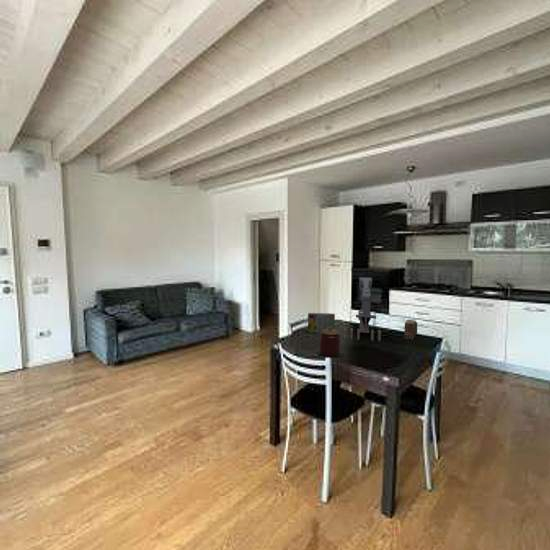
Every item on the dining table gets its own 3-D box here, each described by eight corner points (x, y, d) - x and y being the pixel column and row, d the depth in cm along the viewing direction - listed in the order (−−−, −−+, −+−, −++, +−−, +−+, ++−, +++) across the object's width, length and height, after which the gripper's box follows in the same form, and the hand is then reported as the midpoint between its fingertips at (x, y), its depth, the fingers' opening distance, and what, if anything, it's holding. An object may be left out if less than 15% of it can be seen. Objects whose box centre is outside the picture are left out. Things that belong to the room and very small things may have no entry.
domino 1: (343, 336, 255) (343, 327, 255) (345, 337, 255) (346, 328, 254) (343, 338, 251) (343, 329, 250) (345, 338, 250) (346, 329, 250)
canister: (324, 348, 226) (324, 323, 224) (342, 352, 219) (343, 325, 218) (316, 354, 215) (317, 327, 213) (335, 357, 208) (336, 330, 206)
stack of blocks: (408, 332, 271) (409, 317, 270) (417, 333, 268) (417, 318, 266) (404, 338, 253) (404, 322, 251) (412, 339, 249) (413, 323, 248)
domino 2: (350, 337, 254) (350, 328, 254) (352, 337, 254) (352, 328, 253) (350, 339, 250) (350, 330, 249) (352, 339, 249) (352, 330, 249)
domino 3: (357, 337, 253) (357, 328, 253) (359, 338, 253) (359, 328, 252) (357, 339, 248) (357, 330, 248) (359, 339, 248) (359, 330, 247)
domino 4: (370, 338, 251) (371, 329, 250) (373, 338, 251) (373, 329, 250) (371, 340, 246) (371, 331, 246) (373, 340, 246) (373, 331, 245)
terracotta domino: (364, 330, 252) (364, 321, 251) (366, 330, 251) (366, 321, 251) (364, 332, 247) (364, 322, 246) (366, 332, 246) (367, 322, 246)
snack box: (334, 331, 271) (334, 313, 270) (334, 333, 266) (335, 314, 264) (307, 330, 273) (308, 312, 272) (307, 332, 268) (308, 313, 266)
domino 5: (377, 339, 250) (378, 330, 249) (379, 339, 250) (380, 330, 249) (378, 341, 245) (378, 331, 245) (380, 341, 245) (380, 331, 244)
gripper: (356, 310, 245) (355, 328, 246) (376, 311, 242) (376, 329, 243) (356, 308, 252) (355, 325, 253) (376, 309, 249) (375, 327, 250)
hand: (365, 327), depth 249 cm, fingers closed on terracotta domino, 1 cm apart
